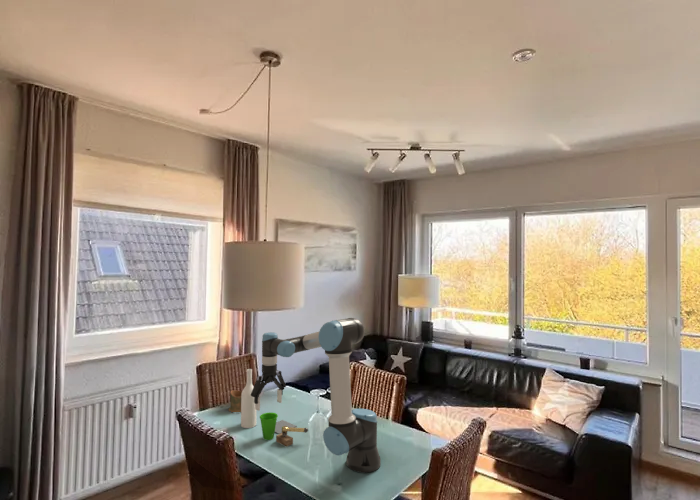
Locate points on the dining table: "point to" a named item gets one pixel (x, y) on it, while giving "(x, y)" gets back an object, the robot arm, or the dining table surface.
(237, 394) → the mug
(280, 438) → the brown wooden block
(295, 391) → the dining table surface
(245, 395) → the bottle
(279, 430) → the felt pad
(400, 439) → the dining table surface
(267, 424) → the cup
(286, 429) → the lever
